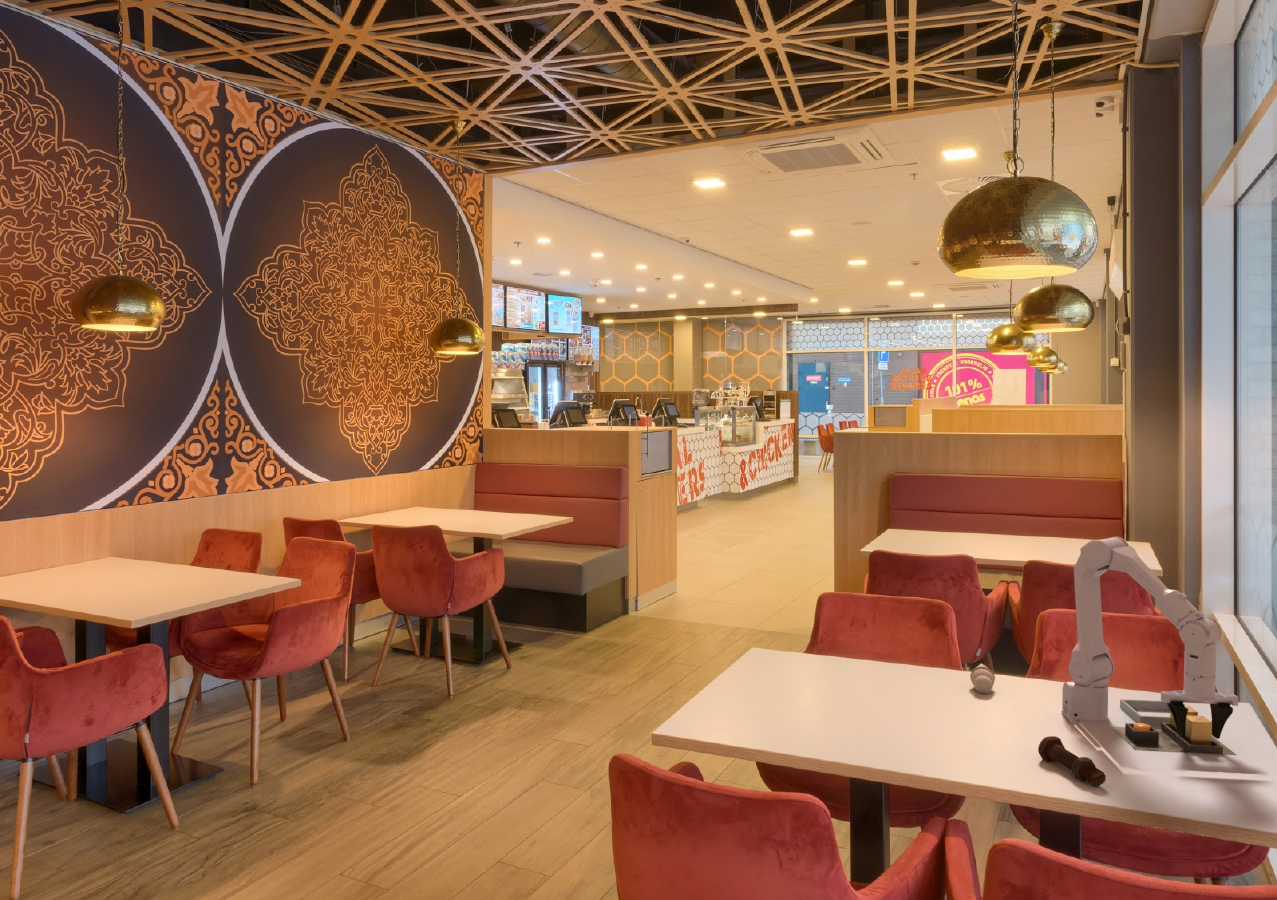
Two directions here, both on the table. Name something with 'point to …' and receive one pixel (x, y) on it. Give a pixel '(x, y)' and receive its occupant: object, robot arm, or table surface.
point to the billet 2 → (1198, 730)
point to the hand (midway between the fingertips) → (1198, 736)
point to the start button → (1141, 727)
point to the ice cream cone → (982, 679)
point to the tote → (1145, 704)
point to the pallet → (1166, 741)
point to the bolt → (1070, 761)
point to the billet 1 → (1190, 712)
